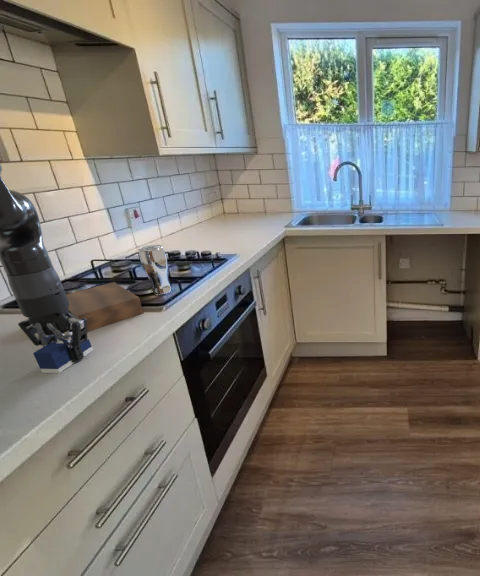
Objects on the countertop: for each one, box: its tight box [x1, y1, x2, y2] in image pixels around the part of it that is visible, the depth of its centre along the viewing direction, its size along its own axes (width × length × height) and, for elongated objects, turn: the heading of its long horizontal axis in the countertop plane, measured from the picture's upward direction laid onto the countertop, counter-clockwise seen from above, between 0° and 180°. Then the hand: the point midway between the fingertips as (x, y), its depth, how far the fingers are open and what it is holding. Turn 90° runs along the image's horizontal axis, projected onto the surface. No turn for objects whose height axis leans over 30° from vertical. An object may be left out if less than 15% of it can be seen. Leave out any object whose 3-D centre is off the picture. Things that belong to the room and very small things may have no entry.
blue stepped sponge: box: [32, 338, 94, 374], centre depth 80 cm, size 9×4×5 cm, turn 176°
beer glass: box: [137, 244, 174, 295], centre depth 114 cm, size 7×7×15 cm
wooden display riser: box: [66, 281, 145, 333], centre depth 103 cm, size 14×20×5 cm
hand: (68, 359), depth 81 cm, fingers closed on blue stepped sponge, 4 cm apart
